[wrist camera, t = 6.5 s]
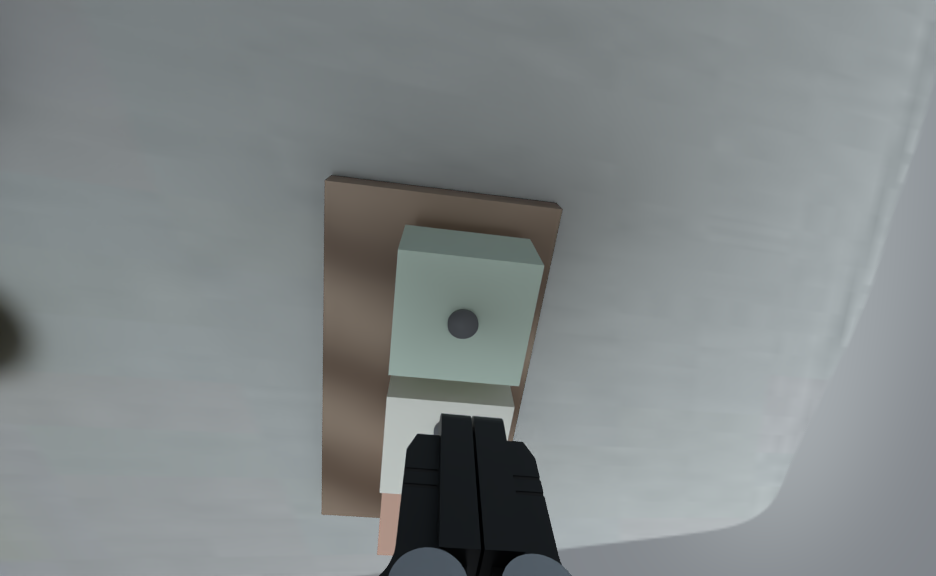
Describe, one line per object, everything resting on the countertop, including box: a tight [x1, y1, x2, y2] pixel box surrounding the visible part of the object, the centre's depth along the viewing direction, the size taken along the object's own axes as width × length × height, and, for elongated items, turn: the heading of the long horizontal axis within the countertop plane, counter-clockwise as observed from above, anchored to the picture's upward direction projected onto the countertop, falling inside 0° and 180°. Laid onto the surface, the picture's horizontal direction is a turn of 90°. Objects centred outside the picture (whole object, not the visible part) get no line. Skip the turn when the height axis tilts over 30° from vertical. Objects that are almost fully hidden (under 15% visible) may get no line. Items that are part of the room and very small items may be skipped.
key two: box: [380, 375, 515, 494], centre depth 20 cm, size 5×5×3 cm
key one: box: [388, 225, 544, 386], centre depth 18 cm, size 5×5×3 cm
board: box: [322, 175, 563, 518], centre depth 24 cm, size 19×10×1 cm, turn 172°
